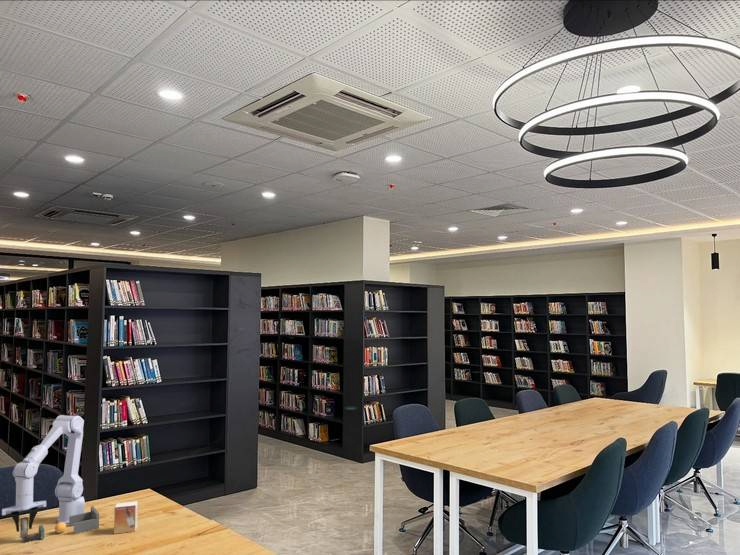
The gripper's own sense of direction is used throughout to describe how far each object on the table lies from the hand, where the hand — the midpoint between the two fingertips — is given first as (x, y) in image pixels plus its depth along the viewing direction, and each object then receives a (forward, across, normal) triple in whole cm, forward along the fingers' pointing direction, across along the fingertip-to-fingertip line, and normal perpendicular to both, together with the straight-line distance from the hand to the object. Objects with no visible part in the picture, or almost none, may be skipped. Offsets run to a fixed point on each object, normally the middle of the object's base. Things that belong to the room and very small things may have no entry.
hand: (24, 529), depth 212 cm
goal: (+4, +21, 0) cm, 21 cm away
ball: (+2, +12, 0) cm, 13 cm away
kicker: (+4, +4, 0) cm, 6 cm away
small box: (+5, +34, -15) cm, 37 cm away
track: (+4, +2, 0) cm, 5 cm away
